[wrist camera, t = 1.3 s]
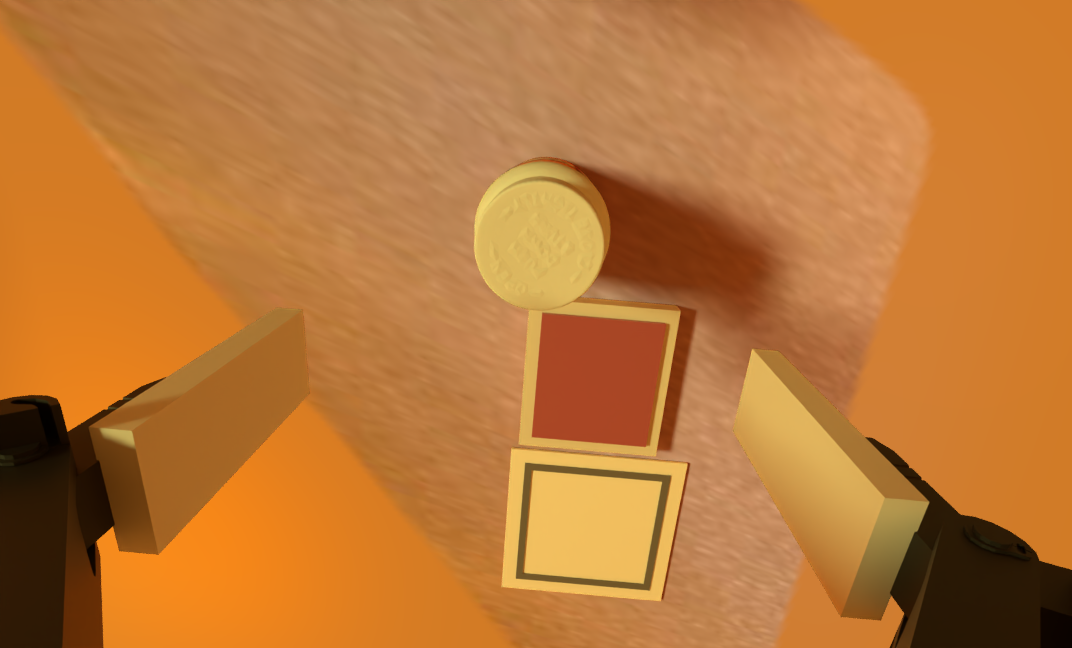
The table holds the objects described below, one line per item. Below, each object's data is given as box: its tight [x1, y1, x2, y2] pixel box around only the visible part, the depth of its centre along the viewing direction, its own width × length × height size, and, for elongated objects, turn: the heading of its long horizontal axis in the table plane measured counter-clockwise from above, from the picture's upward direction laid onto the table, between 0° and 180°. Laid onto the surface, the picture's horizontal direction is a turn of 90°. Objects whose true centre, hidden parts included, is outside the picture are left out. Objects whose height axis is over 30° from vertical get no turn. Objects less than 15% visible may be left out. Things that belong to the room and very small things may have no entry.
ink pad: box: [519, 297, 681, 456], centre depth 34 cm, size 10×9×2 cm
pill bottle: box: [474, 157, 611, 311], centre depth 26 cm, size 6×6×11 cm
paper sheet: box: [502, 447, 688, 601], centre depth 38 cm, size 12×12×1 cm
